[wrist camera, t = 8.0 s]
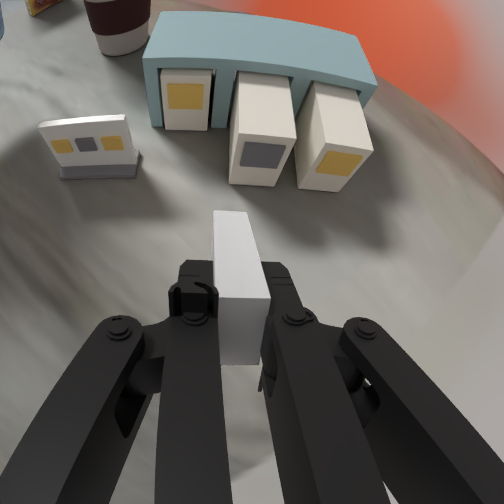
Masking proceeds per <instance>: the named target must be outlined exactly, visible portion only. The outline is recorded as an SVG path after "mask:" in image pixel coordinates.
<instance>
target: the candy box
mask: <svg viewBox="0 0 504 504" xmlns="http://www.w3.org/2000/svg"><path fill="white" fill-rule="evenodd" d="M59 1H61V0H25V3H26V6H27V10H28V13H29V14H31V15H32V16H35V15H36V14H38V13H39V12H41V11H43V10H44V9H46V8H48V7H50V6H52V5H53V4H55V3H57V2H59Z"/></svg>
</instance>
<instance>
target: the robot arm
mask: <svg viewBox="0 0 504 504" xmlns="http://www.w3.org/2000/svg"><path fill="white" fill-rule="evenodd" d="M3 34H4V23H3V17H2V11H1V4H0V40H1V39H2V37H3ZM168 296H169V313H170V316H169V317H168V318H167V319H165V320H164V321H162V322H160V323H157V324H153V325H147V326H142V325H141V323H140V322H138V321H137V320H136V319H135V318H132V317H130V316H123V315H118V316H112V317H109V318H107V319H105V320H103V321H102V322H101V323H100V324H99V325H98V326H97V327H96V328H95V330H94V331H93V333H92V334H91V335H90V337H89V338H88V339H87V341H86V342H85V343H84V345H83V346H82V348H81V349H80V350H79V352H78V353H77V355H76V356H75V357H74V359H73V360H72V362H71V363H70V365H69V366H68V367H67V369H66V370H65V372H64V373H63V375H62V376H61V378H60V379H59V381H58V382H57V384H56V385H55V387H54V388H53V390H52V391H51V393H50V394H49V396H48V397H47V399H46V400H45V402H44V403H43V405H42V406H41V408H40V410H39V411H38V413H37V414H36V416H35V418H34V419H33V421H32V422H31V424H30V426H29V427H28V429H27V431H26V432H25V434H24V436H23V437H22V439H21V441H20V442H19V444H18V446H17V447H16V449H15V451H14V453H13V454H12V456H11V458H10V460H9V462H8V463H7V465H6V467H5V469H4V471H3V473H2V474H1V476H0V504H109V502H110V499H111V497H112V494H113V492H114V489H115V486H116V484H117V481H118V479H119V476H120V474H121V471H122V469H123V466H124V464H125V461H126V459H127V456H128V454H129V451H130V449H131V447H132V444H133V442H134V439H135V437H136V434H137V432H138V430H139V427H140V425H141V422H142V420H143V418H144V415H145V413H146V411H147V408H148V406H149V404H150V401H151V399H152V396H153V394H154V393H159V392H161V395H160V406H159V418H158V432H157V448H156V468H155V503H154V504H233V502H232V493H231V483H230V473H229V463H228V453H227V442H226V431H225V419H224V407H223V394H222V380H221V366H220V365H259V361H260V356H261V358H262V363H263V367H262V372H261V376H260V381H259V386H258V392H261V391H262V387H263V391H264V397H265V402H266V408H267V413H268V419H269V424H270V430H271V435H272V440H273V446H274V451H275V456H276V461H277V467H278V472H279V477H280V482H281V487H282V492H283V498H284V503H285V504H391V503H390V500H389V497H388V494H387V492H386V489H385V486H384V483H385V484H386V486H387V487H388V489H389V490H390V492H391V493H392V495H393V496H394V497H395V499H396V500H397V502H398V503H399V504H504V463H503V462H502V460H501V459H500V458H499V457H498V456H497V454H496V453H495V452H494V451H493V450H492V448H491V447H490V446H489V445H488V444H487V442H486V441H485V440H484V439H483V438H482V436H481V435H480V434H479V433H478V432H477V431H476V430H475V429H474V427H473V426H472V425H471V424H470V423H469V421H468V420H467V419H466V418H465V417H464V416H463V415H462V414H461V412H460V411H459V410H458V409H457V408H456V407H455V406H454V405H453V404H452V402H451V401H450V400H449V399H448V398H447V397H446V396H445V394H444V393H443V392H442V391H441V390H440V389H439V388H438V387H437V386H436V384H435V383H434V382H433V381H432V380H431V379H430V378H429V377H428V376H427V375H426V374H425V373H424V371H423V370H422V369H421V368H420V367H419V366H418V365H417V364H416V363H415V362H414V361H413V359H412V358H411V357H410V356H409V355H408V354H407V353H406V352H405V351H404V350H403V349H402V348H401V347H400V346H399V345H398V344H397V343H396V341H395V340H394V339H393V338H392V337H391V336H390V335H389V334H388V333H387V332H386V331H385V330H384V329H383V328H382V327H381V326H380V325H379V324H377V323H376V322H374V321H372V320H370V319H367V318H362V317H355V318H351V319H349V320H347V321H346V323H345V324H344V327H343V328H340V327H334V326H329V325H325V324H322V323H319V321H318V319H317V317H316V316H315V314H314V313H313V312H312V311H310V310H309V309H307V308H305V307H303V305H302V303H301V300H300V298H299V295H298V293H297V291H296V288H295V286H294V283H293V281H292V279H291V276H290V273H289V271H288V269H287V268H286V267H285V266H283V265H282V264H281V263H280V262H261V261H260V258H259V254H258V251H257V247H256V244H255V240H254V237H253V233H252V230H251V226H250V223H249V219H248V216H247V212H236V211H217V210H214V212H213V228H212V245H211V261H208V260H186V261H185V262H184V263H183V264H182V265H181V266H180V270H179V276H178V282H177V283H175V284H174V285H172V286H171V288H170V290H169V291H168ZM365 379H367V380H368V381H369V382H370V384H371V385H369V384H367V383H366V381H365ZM382 480H383V481H382ZM383 482H384V483H383Z"/></svg>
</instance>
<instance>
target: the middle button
mask: <svg viewBox="0 0 504 504" xmlns="http://www.w3.org/2000/svg"><path fill="white" fill-rule="evenodd" d="M296 139H297V138H296V130H295V122H294V114H293V107H292V100H291V93H290V86H289V80H288V76H284V75H277V74H269V73H261V72H251V71H241V70H237V72H236V78H235V84H234V90H233V96H232V102H231V108H230V144H229V184H240V185H257V186H272V187H274V186H275V184H276V182H277V180H278V177H279V175H280V173H281V171H282V169H283V167H284V165H285V162H286V160H287V158H288V156H289V154H290V152H291V150H292V147H293V145H294V143H295V141H296Z"/></svg>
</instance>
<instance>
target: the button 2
mask: <svg viewBox="0 0 504 504" xmlns="http://www.w3.org/2000/svg"><path fill="white" fill-rule="evenodd" d="M294 122H295V130H296V138H297V139H296V141H295V143H294V145H293V146H294V155H295V165H296V174H297V185H298V189H309V190H320V191H330V192H339V191H340V190H341V189H342V187H343V186H344V185H345V184H346V183H347V182H348V180H349V179H350V178H351V177H352V176H353V175H354V173H355V172H356V171H357V170H358V169H359V168H360V166H361V165H362V164H363V163H364V162H365V161H366V159H367V158H368V157H369V156H370V155H371V153H372V152H373V151H374V150H373V146H372V142H371V139H370V135H369V132H368V128H367V124H366V121H365V118H364V114H363V111H362V108H361V105H360V101H359V98H358V95H357V92H356V89H352V88H348V87H343V86H339V85H334V84H329V83H325V82H319V81H314V80H311V82H310V84H309V86H308V89H307V91H306V93H305V96H304V98H303V100H302V103H301V105H300V107H299V110H298V112H297V114H296V117H295V119H294Z"/></svg>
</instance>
